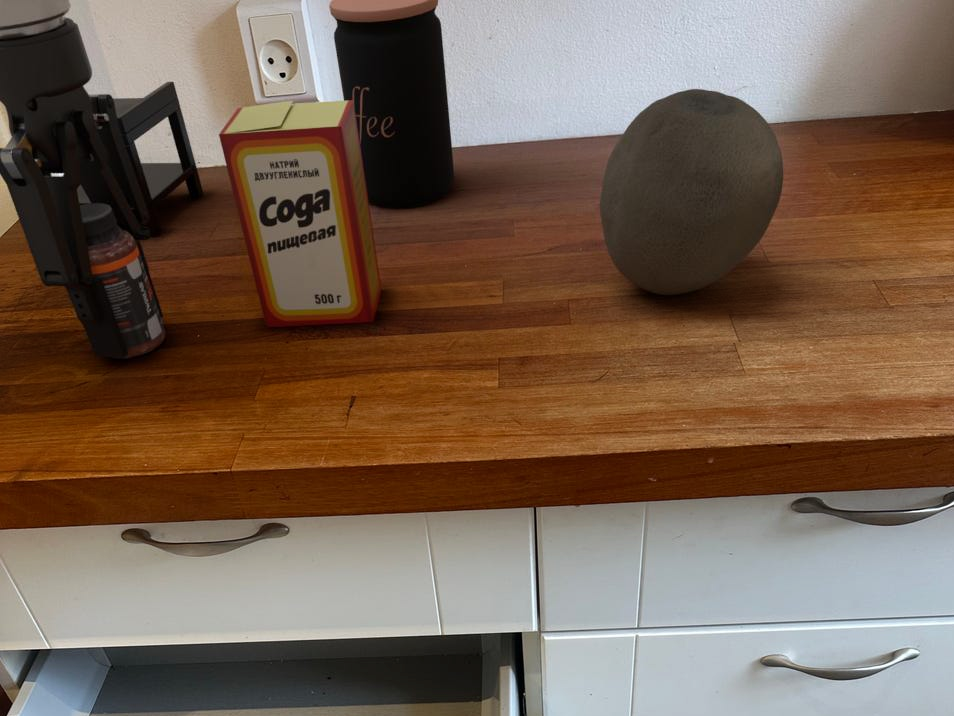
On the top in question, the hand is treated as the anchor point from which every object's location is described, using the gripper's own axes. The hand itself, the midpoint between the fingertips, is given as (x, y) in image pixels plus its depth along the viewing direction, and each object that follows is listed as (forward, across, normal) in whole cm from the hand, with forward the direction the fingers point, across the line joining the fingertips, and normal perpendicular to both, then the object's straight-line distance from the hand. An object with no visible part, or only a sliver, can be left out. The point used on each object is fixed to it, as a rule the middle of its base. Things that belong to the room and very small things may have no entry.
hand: (130, 335), depth 82 cm
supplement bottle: (+1, 0, 0) cm, 1 cm away
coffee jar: (+1, +36, -15) cm, 39 cm away
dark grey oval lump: (+1, +14, -46) cm, 48 cm away
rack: (+1, +29, +15) cm, 33 cm away
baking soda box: (+1, +8, -15) cm, 17 cm away
